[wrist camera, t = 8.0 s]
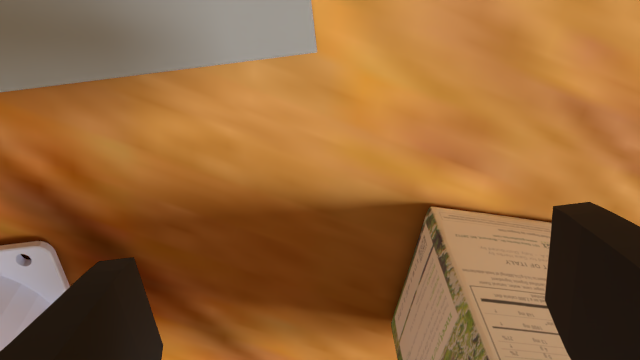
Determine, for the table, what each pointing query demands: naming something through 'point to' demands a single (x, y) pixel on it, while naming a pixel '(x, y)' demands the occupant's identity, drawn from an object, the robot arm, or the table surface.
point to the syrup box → (477, 291)
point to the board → (142, 37)
